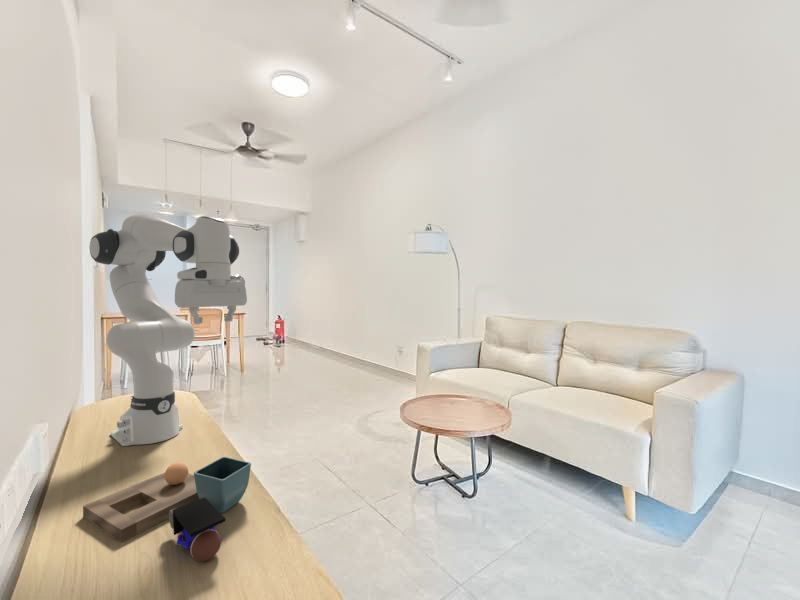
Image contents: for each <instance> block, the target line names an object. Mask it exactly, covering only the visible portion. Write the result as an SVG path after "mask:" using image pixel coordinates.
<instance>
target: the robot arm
mask: <svg viewBox="0 0 800 600" xmlns="http://www.w3.org/2000/svg"><path fill="white" fill-rule="evenodd" d="M230 234H231V232H230V228H229V224H228V221H226V220H225V219H222V218H218V217H211V216H206V215H203V216H199V217H198V218H197V219H196V221H195V224H193V225H192V226H191V227H188V228H185V227H182V226H180V225H178V224H175V223H172V222H170V221H168V220H167V219H163V218H161V217H158V216H154V215H150V214H143V213H142V214H133V215H130V216H127V218H125V219H124V221H123V222H122V224H121V229H120V230H117V231H116V230H114V229H113V228H110V229H107V230H106V231H102V232H98V233H97V234H95V235H94V236H92V237H91V239H90V241H89V248H88V249H89V254H90V257H91V258H92V259H93V261H95V262H96V263H99V264H102V265H108V266H109V265H113V266H114V265H115V267H114V268H112V269H111V271H110V272H109V283H110V287H111V291H112V294H113V296H114V299H115V302H116V303H117V305H118V308H119V310H120V312H121V315H123V317H125V318H126V319H127V320H129V321H127V322H122V323H118V324H115V325H113V326H112V327H111V328H110V329H109V330H108V332H107V334H106V337H105V342H106V345H107V348H108V349H109V351H110V352H111V354H114V355H115V356H117V357H118V358H120V359H122V360H123V361H124V362H125V363H126V364H127V365H128V367H129V369H130V371H131V374H132V382H133V385H132V386H133V395H132V396H130V405H129V406H130V407H129V408H128V409H127V410H126V411H125V412H124V413H122V414H121V415H120V417H119V420H118V421H116V427H117V428H116V429H115V428H114V429H113V430H111V431H110V436H111V437H112V438H113V439H114V440H115V441H116V442H117V443H118V444H119V445H120V446H122V447H128V446H137V445H150V444H151V445H152V444H155V443H161V442H164V441H167V440H169V439H172V438H174V437H176V436H177V435H178V434H179V432H180V430H182V429H183V428H184V426H183V424H182V423H180V413H179V407H178V405H177V404H175V402H176V394H175V391H174V370H173V369H172V368H171V366H170V365H167V364H165V363H162V362H160V361H158V359H157V355H156V354H159V353H164V352H171V351H178V350H181V349H184V348H186V347H190V345H191V344H192V343H193V341H194V339H195V334H196V332H195V328H194V326H193V325H192V323H191V322H190V321H188V320H186V319H183V318H181V317H179V316H177V315H175V314H174V313H172V312H171V311H170V310H168V309H167V308H166V307H165V306H163V305H162V303H161V302H160V300H159V298H158V297H157V295H156V293H155V292H154V290H153V288H152V286H151V284H150V281H149V280H148V278H147V276H146V275H147V274H146V271H147V272H153V271H155V269H156V268H157V267H159V266H160V265H161V264H162V263H163V261H164V260H165V258H166V255H167V252H173V254H174V255H175V256H176V258H177V259H178V260H179V261H180V262H183V263H188V264H195V267H191V268H188V269H184V270H181V271H178V272H177V274H176V276H177V280H178V281H177V282H176V283H175V289H174V304H175V305H176V306H177V308H181V309H182V308H188V309H189V310H188V311H189V313H190V315H191V317H192V318H193V324H194V325H202V324H203V323H204V322H203V317H201V316H200V315H199V313H198V312H200V310H199V309H200V308H209V307H227V310H228V312H227V314H226V315H225V314H224V322H226V323H227V322H228V323H229V322H233V319H234V318H233V317H234V315H235V313H236V310H237V307H238V306H245V305H247V303H248V296H247V289H246V288H247V287H246V280H245V278H244V277H243V276H241V274H240V275H239V274H236V275H234V274H232V273H231V267H232V265H233V264H234V263H235V261H236V260H237V259H238V257H239V254H240V246H239V244H238V242H237V241H236V239H235V238H234V237H233V236H232V234H231V235H230ZM182 427H183V428H182ZM181 428H182V429H181Z"/></svg>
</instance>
